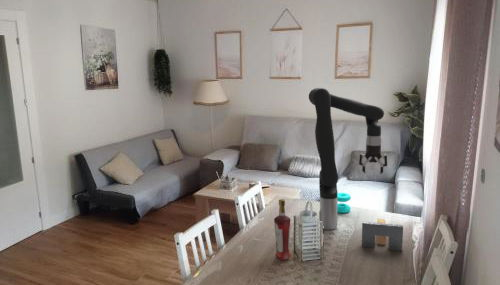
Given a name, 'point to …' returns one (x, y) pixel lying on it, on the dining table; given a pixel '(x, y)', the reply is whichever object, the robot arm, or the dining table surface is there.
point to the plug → (381, 239)
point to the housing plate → (382, 234)
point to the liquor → (282, 233)
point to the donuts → (341, 206)
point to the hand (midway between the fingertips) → (372, 173)
